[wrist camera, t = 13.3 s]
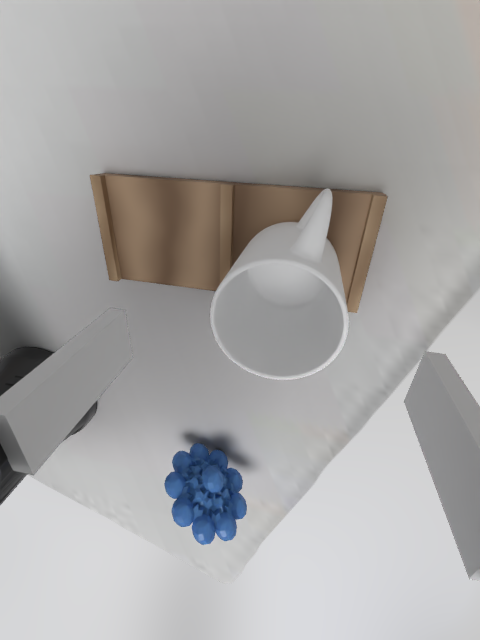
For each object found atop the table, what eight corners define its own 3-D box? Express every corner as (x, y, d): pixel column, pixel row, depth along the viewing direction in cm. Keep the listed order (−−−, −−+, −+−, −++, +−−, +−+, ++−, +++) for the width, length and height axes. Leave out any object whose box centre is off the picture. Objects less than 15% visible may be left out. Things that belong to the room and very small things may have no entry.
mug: (379, 201, 24) (417, 236, 15) (312, 322, 30) (310, 398, 21) (277, 160, 24) (253, 170, 15) (231, 289, 30) (195, 351, 21)
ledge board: (120, 272, 34) (109, 280, 32) (104, 173, 29) (89, 175, 27) (354, 302, 30) (356, 312, 28) (382, 192, 25) (387, 196, 23)
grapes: (266, 451, 43) (251, 545, 33) (248, 475, 47) (229, 566, 37) (191, 417, 43) (153, 501, 33) (179, 443, 47) (141, 526, 37)
